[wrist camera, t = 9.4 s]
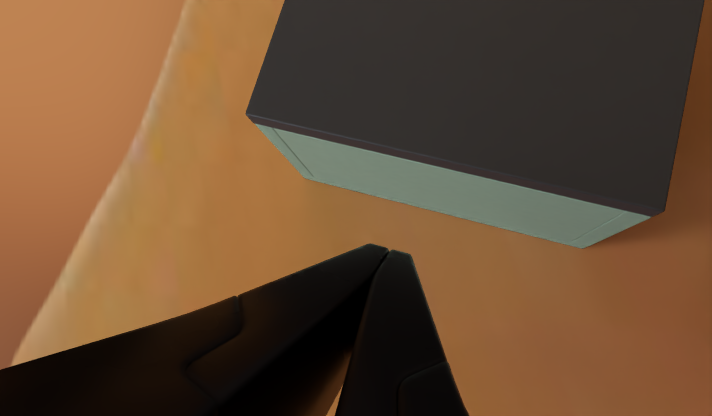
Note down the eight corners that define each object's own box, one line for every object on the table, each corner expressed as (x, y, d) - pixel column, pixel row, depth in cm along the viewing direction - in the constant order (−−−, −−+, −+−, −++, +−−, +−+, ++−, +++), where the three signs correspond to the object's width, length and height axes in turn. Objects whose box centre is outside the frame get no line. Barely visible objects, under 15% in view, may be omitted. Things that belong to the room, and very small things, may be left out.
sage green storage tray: (377, -54, 25) (358, -182, 19) (640, -14, 23) (722, -147, 16) (303, 178, 23) (253, 124, 17) (583, 249, 21) (652, 218, 14)
